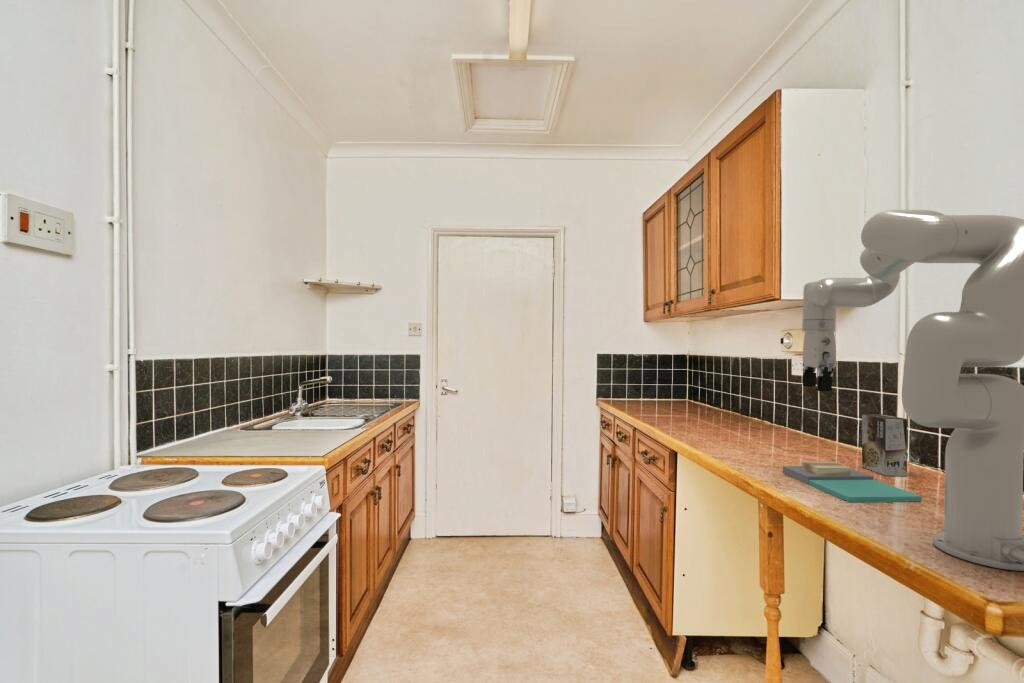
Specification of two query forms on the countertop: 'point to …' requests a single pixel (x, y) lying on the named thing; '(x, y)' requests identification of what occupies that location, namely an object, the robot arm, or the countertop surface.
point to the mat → (864, 491)
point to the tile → (826, 468)
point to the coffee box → (884, 444)
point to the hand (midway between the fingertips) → (816, 388)
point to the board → (806, 476)
